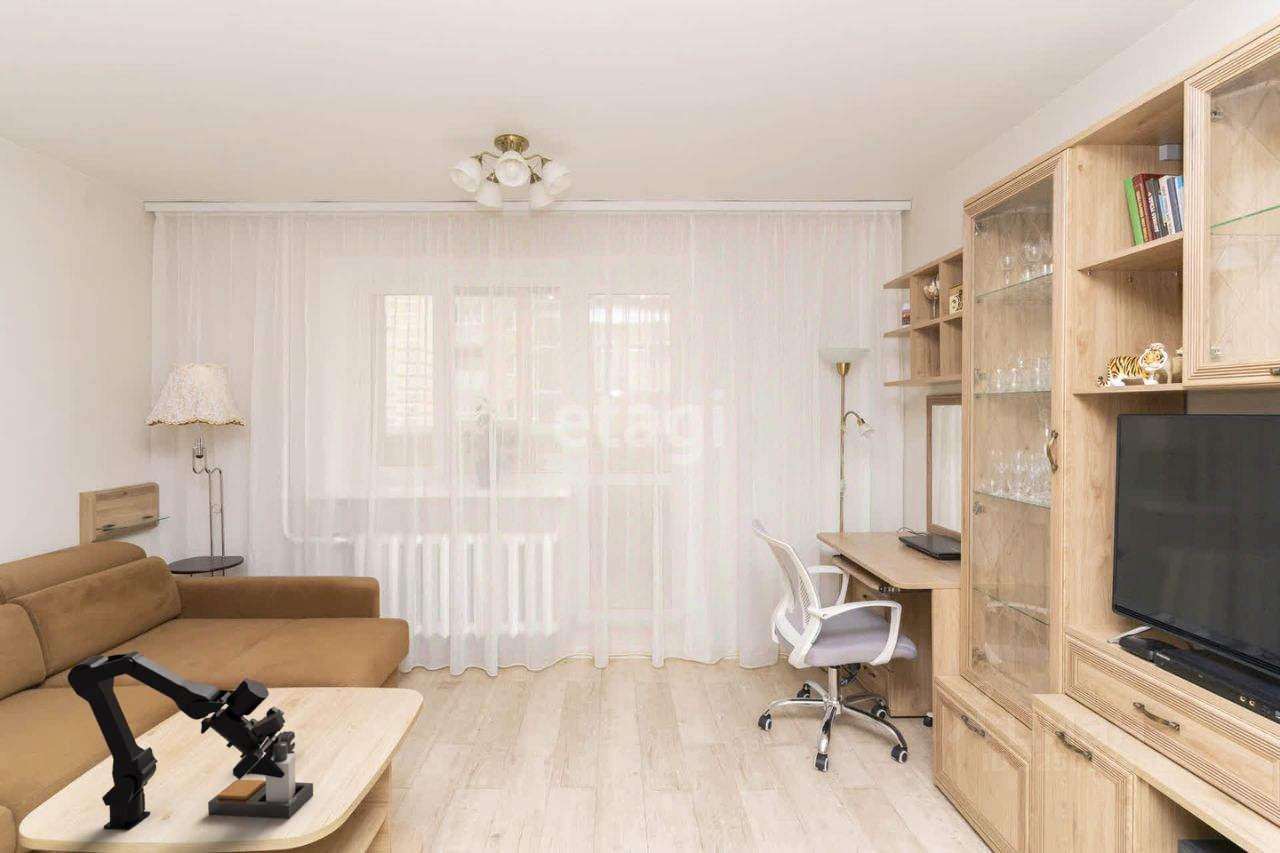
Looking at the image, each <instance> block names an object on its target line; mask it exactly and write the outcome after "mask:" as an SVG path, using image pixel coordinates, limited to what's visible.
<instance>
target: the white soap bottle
mask: <svg viewBox="0 0 1280 853" xmlns="http://www.w3.org/2000/svg"><path fill="white" fill-rule="evenodd" d="M271 759H272V760H273V761H274V762H275V764H276V765H277V766H278V767H279V768H280V769H281V770H282V771H283V772H284V774H285V775H284V776H283V777H282V778H277V777H272V776H266V775H265V781H266V802H281V803H287V802H288V801H289V800H290V799H292V797H293V795H294V793H295V782H296V752H294V753H292V754H287V742H279V743H276V744H274V745H273V755H272V757H271Z"/></svg>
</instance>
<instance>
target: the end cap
mask: <svg viewBox="0 0 1280 853" xmlns="http://www.w3.org/2000/svg"><path fill="white" fill-rule="evenodd" d="M281 733H282V735H281V742H287V754H292V753H295V750H294V749H295V747H296V742H295V741H293V740H294V739H296V738H295V737H296V734H295V732H294V731H293V730H292V731H291V730H289V731H285V730H284V731H281ZM292 741H293V742H292Z"/></svg>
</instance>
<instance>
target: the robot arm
mask: <svg viewBox="0 0 1280 853" xmlns="http://www.w3.org/2000/svg"><path fill="white" fill-rule="evenodd" d="M123 675H127V676H129V677H131V678H132V679H134V680H136V681H138V682H140V683H142V684H143V685H145V686H147V687H149V688H151V689H153V690H154V691H156V692H159V693H160V694H162V695H164V696H166V697H167V698H169V699H171V700H172V701H173V702H174V703H175V704H176V706H177V708H178V709H179V710H180V712H182V713H183V714H185V715H186V716H187V717H188V718H189V719H192V720H197V721H198V720H202V721H201V722H200V724H201V729H200V734H201V735H203V734H205V733H206V732H207V731H208V730H209V729H210V728H211V729H212V730H213V731H214V732H216V733H217V734H219V735H220V737H221V738H223V739H224V740H225V741H226V742H228V743H227V744H226V747H227V748H228V749H230V748H231V747H234V748H235V749H236V750H237V751H239V752H240V753H241V755H240V756H239V757H240V760H239V761H238V762H237V763H236V764H235V766H234V767H233V768H232V776H234V777H235V778H236V780H238V779H239V780H240V779H241V780H242V778H243V777H244V776H246V775H250V774H251V775H260V776H265V777H266V776H272V777H277V778H282V777H283V776H284V775H285V774H284V772H283V771H282V770H281V769H280V768H279V767H278V766H277V765H276V764H275V762H274V761H273V760H272V759H271V757H272V755H273V745H274V744H276V743H279V742H281V735H282V732H281V730H282V729H283V728H284V726H285V723H286V720H285V718H284V717H283V716H284V715H285V714H284V713H285V712H284V711H282V710H281V709H279V708H277V707H276V706H272V707H270V708H268V710H267V711H266V713H265V714H266V716H263V718H262V719H260V720H257V719H255V718H251V719H250V720H249V719H247V718H246V717H245V716H250V715H251V714H252V713H253V712H254V711H255V710H256V709H257V708H258V707H259V706H260V705H261V704H262V703H263V702H264V701H265V700H266V699H267V698H268V697H269V695H270V693H269V690H268V688H267V687H266V686H265V685H264V684H263V683H262V682H259V681H257V680H252V679H249V678H248V677H245V678H244V680H242V681H241V682H240V683H239V684H238V686H237V687H236V689H219V688H218V687H217V686H214V685H212V684H208V683H205V682H203V681H202V682H200V681H195V680H194V681H193V680H189V679H186V678H184V677H183V676H181V675H179V674H178V673H176V672H174V671H171V670H170V669H168V668H166V666H165V667H164V666H163V665H161V664H159V663H157V662H156V661H154V660H152V659H151V658H148V657H146V656H145V655H144V654H143V653H142V652H140V651H130V652H126V653H117V654H116V653H115V654H111V655H107V656H104V655H101V654H99V655H98V654H97V655H92V656H90V657H88V658H86V659H84V660H83V661H81V662H79V663H78V664H77V665H74V666H73V667H72V668H70V671H69V672H68V674H67V682H68V684H69V685H70V687H71V689H72V690H73V692H74V693H75V694H76V695H77V696H78V697H80V698H81V699H83V700H84V701H86V702H87V703H88V705H89V707H90V709H91V712H92V714H93V716H94V718H95V720H96V722H97V725H98V727H99V729H100V732H101V733H102V734H101V735H102V736H103V739H104V741H105V743H106V745H107V748H108V751H109V752H110V755H111V757H112V759H113V760H112V769H111V776H112V781H113V784H114V785H113V786H112V787H111V788H110V789H109V790H108V791H107V792H106V793H105V794H104V795H103V796H102V801H103V804H104V805H105V807H107V806H109V821H108V822H107V823H106V824H104V825H103V829H106V830H107V829H108V830H109V829H111V830H112V829H113V830H130V829H132V828H134V827H135V826H136V825H138V824H139V823H140V822H142V821H143V820H145V819H146V818H147V817H149V815H151V811H149V810H146V798H145V797H146V794H145V792H144V787H146V785H148V783H149V780H151V779H152V778H153V777H154V775H155V773H156V771H157V763H158V762H159V761H158V759H156V758H155V756H154V752H153V749H152V748H151V747H150V746H149V747H147V748H145V749H144V748H142V747H141V746H139V745H138V744H137V741H136V739H135V737H134V735H133V732H132V730H131V728H130V725H129V723H128V721H127V718H126V716H125V715H124V712H123V710H122V707H121V705H120V703H119V701H118V700H119V699H118V698H117V696H116V694H115V691H114V685H115V684H114V683H115V677H119V676H123ZM225 705H227V706H226V707H225V708H223V707H224V706H225ZM210 714H212V715H211V716H210V717H208V716H209V715H210ZM279 732H280V733H279ZM277 733H279V734H277ZM276 734H277V735H276Z"/></svg>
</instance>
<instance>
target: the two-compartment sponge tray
mask: <svg viewBox="0 0 1280 853" xmlns="http://www.w3.org/2000/svg"><path fill="white" fill-rule="evenodd" d="M313 796H314V783H313V782H297V781H295V793H294V795H293V797H292V799H290V800H289V801H288V802H287V803H281V802H266V779H265V780H264V779H242V778H241V779H240V780H239V779H236V780H234V781H233V782H232V783H231V784H229V785H228V786H227V787H225V788H224V789H223V790H222V791H221V792H220V793H218V794H216V795H215V796H214V797H212V798H211V799H210V800H209V801H207V802H208V803H207V805H208V806H207V808H208V816H221V817H222V816H223V817H225V816H227V817H245V818H246V817H247V818H248V817H249V818H264V819H265V818H268V819H269V818H270V819H286V820H287V819H289V820H290V818H292V816H294V814H296V813H297V812H298V811H299V810H300V809H301V808H302V807H303V806H304V805H305V804H306V803H307V802H308V801H310V799H311V798H312V797H313Z"/></svg>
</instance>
